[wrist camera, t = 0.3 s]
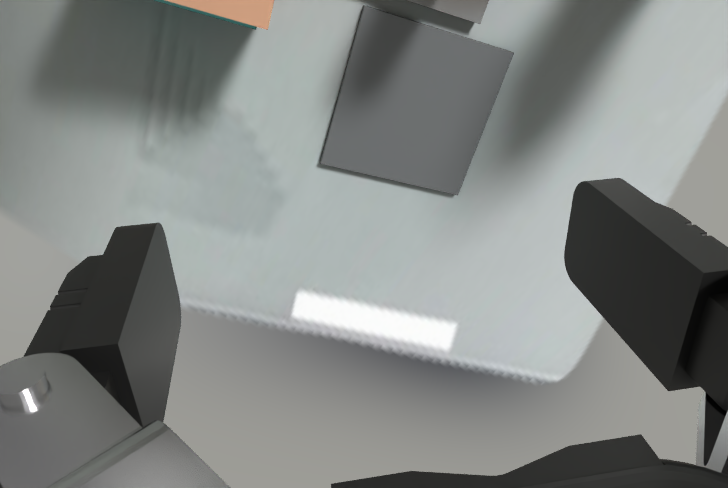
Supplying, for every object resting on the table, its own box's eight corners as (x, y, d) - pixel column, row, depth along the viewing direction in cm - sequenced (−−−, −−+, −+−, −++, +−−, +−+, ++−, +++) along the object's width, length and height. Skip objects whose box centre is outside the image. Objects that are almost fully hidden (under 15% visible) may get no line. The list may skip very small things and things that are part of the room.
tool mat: (363, 5, 34) (364, 5, 34) (511, 51, 37) (514, 52, 37) (319, 161, 38) (320, 163, 38) (456, 193, 41) (457, 195, 41)
